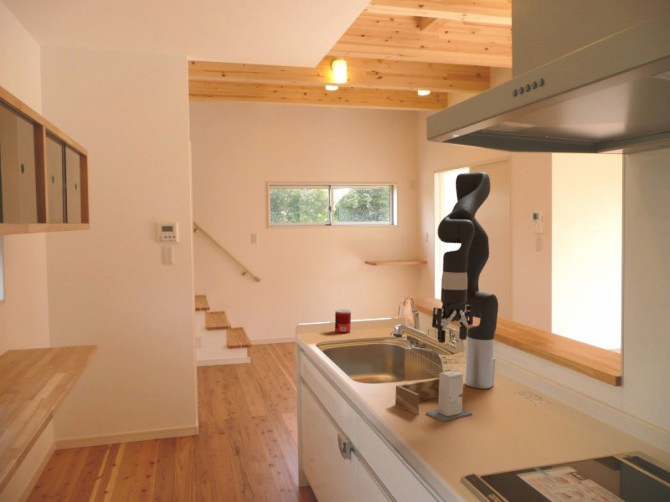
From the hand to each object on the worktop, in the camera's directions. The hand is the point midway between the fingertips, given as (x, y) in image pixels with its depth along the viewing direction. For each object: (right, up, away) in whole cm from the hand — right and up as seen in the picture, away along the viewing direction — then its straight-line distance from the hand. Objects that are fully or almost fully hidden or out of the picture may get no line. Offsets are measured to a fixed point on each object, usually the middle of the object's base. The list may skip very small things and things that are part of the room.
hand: (452, 340), depth 159 cm
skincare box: (0, -22, +2) cm, 22 cm away
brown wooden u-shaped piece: (-6, -22, +9) cm, 24 cm away
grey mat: (-1, -22, +1) cm, 22 cm away
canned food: (-31, -15, +113) cm, 119 cm away
